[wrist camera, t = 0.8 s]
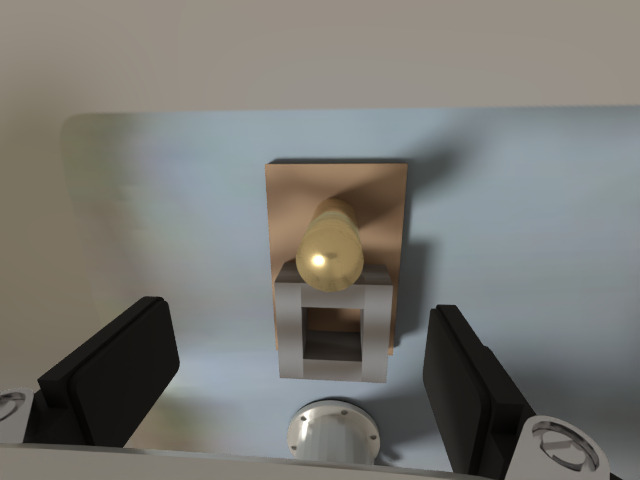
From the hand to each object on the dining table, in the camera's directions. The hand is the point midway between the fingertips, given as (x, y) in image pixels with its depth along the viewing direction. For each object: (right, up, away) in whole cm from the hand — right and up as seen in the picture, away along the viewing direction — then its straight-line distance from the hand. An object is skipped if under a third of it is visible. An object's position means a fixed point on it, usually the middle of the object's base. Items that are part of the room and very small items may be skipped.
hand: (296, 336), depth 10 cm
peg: (+2, +6, +20) cm, 21 cm away
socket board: (+2, +1, +23) cm, 23 cm away
